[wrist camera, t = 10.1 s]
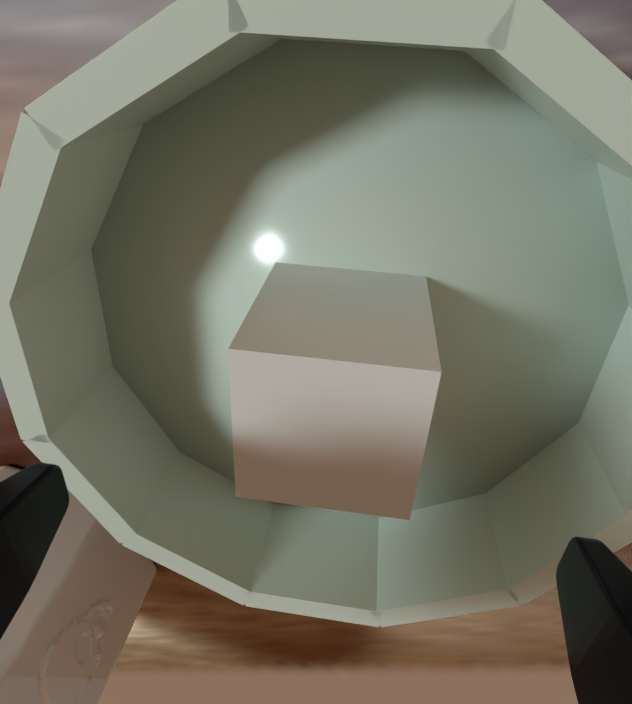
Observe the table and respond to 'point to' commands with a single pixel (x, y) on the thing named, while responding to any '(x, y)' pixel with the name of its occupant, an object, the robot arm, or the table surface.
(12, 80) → the table surface
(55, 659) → the lidded white canister
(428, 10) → the bowl
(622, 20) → the table surface
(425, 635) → the table surface
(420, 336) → the block
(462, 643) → the table surface
